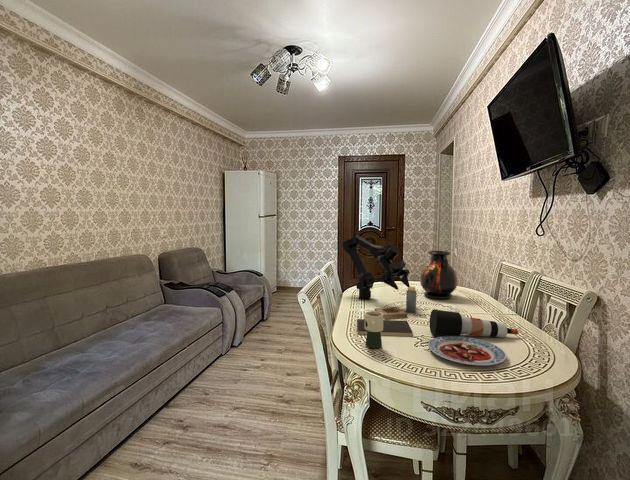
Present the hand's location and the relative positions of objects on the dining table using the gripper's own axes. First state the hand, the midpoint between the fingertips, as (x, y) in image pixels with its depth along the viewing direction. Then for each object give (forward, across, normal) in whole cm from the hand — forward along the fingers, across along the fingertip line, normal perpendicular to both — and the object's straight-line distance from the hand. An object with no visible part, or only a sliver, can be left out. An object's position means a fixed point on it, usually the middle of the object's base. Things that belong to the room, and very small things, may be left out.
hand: (403, 288), depth 177 cm
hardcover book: (+19, -31, -1) cm, 36 cm away
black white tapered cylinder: (+39, -8, -22) cm, 45 cm away
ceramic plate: (+44, -27, -27) cm, 58 cm away
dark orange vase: (+5, +38, +12) cm, 40 cm away
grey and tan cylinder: (+12, 0, +5) cm, 13 cm away
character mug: (+26, -49, -9) cm, 56 cm away
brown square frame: (+10, -12, +7) cm, 17 cm away
